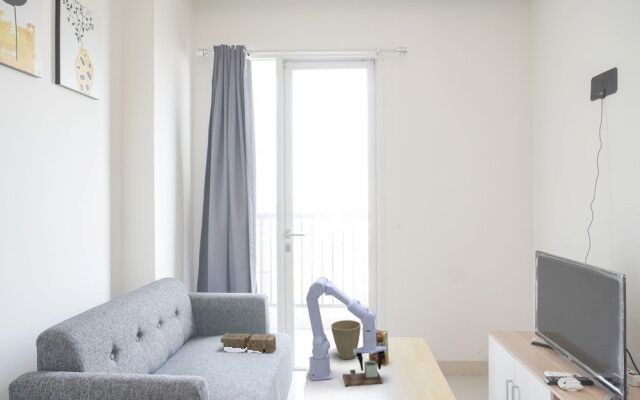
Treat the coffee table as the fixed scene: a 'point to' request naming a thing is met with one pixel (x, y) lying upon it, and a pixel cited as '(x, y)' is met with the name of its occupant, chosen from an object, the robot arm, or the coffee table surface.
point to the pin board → (359, 379)
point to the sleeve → (370, 370)
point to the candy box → (381, 341)
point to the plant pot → (346, 337)
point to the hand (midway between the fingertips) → (370, 369)
